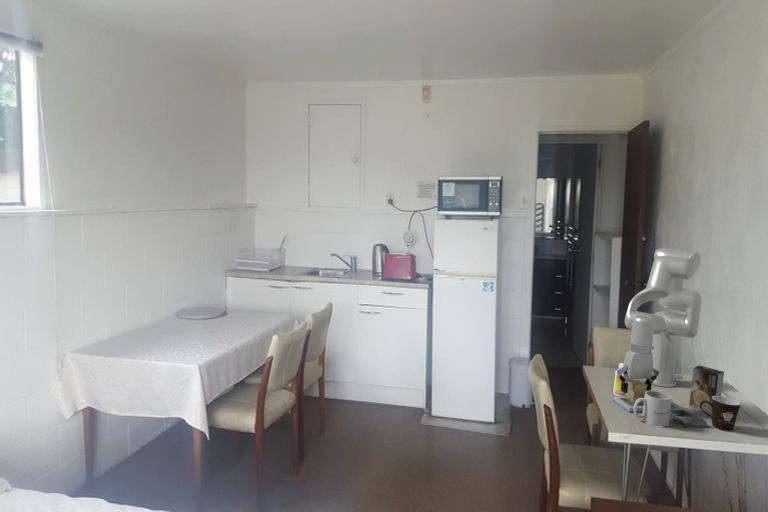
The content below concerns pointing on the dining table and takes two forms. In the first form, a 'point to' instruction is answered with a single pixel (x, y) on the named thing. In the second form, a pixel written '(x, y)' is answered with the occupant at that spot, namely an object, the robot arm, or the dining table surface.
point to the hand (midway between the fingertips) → (635, 392)
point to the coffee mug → (723, 412)
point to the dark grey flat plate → (689, 418)
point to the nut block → (635, 392)
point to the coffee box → (705, 387)
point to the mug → (655, 408)
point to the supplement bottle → (618, 383)
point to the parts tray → (621, 401)
